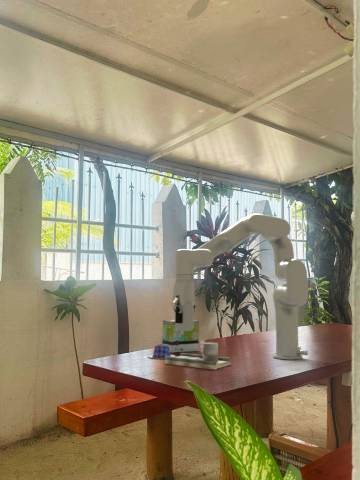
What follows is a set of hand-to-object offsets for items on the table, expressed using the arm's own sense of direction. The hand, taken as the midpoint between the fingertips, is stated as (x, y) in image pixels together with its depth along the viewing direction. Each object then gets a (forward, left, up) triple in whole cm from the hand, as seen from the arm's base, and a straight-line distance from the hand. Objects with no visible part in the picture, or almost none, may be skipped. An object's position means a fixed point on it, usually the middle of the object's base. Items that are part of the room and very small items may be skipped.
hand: (184, 322), depth 182 cm
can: (0, 0, -3) cm, 3 cm away
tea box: (+20, -27, -16) cm, 38 cm away
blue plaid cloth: (+16, -6, -17) cm, 24 cm away
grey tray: (-6, 0, -16) cm, 17 cm away
